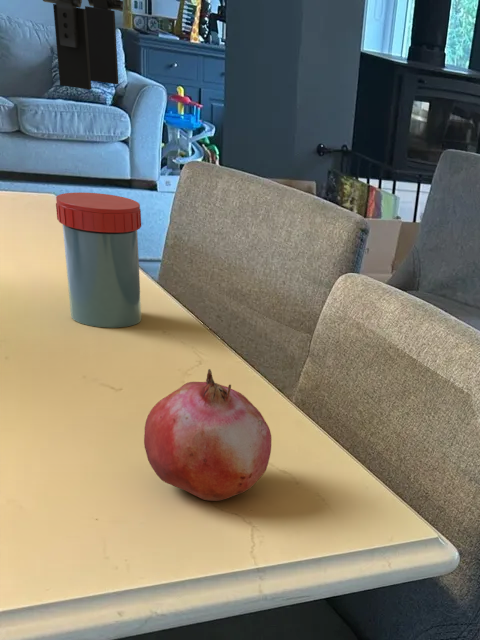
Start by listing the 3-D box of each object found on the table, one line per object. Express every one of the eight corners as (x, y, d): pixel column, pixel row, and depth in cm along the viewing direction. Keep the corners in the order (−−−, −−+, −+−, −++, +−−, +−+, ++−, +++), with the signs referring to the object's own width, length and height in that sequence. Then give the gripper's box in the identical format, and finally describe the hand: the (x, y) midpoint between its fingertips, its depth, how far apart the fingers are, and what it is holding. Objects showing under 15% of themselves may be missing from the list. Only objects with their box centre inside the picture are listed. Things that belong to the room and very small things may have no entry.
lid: (46, 225, 92) (43, 201, 91) (72, 211, 99) (70, 188, 98) (129, 236, 93) (128, 213, 91) (149, 221, 100) (148, 200, 99)
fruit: (158, 458, 73) (153, 338, 68) (274, 469, 74) (278, 352, 69) (132, 508, 65) (125, 378, 60) (263, 520, 67) (266, 393, 61)
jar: (61, 322, 98) (50, 206, 91) (82, 304, 104) (73, 194, 98) (131, 331, 98) (125, 217, 92) (148, 312, 105) (144, 204, 98)
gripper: (75, -235, 68) (97, 97, 80) (145, -180, 86) (154, 84, 98) (-26, -255, 67) (11, 84, 79) (66, -195, 85) (85, 73, 97)
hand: (90, 84), depth 89 cm, fingers open, 9 cm apart
